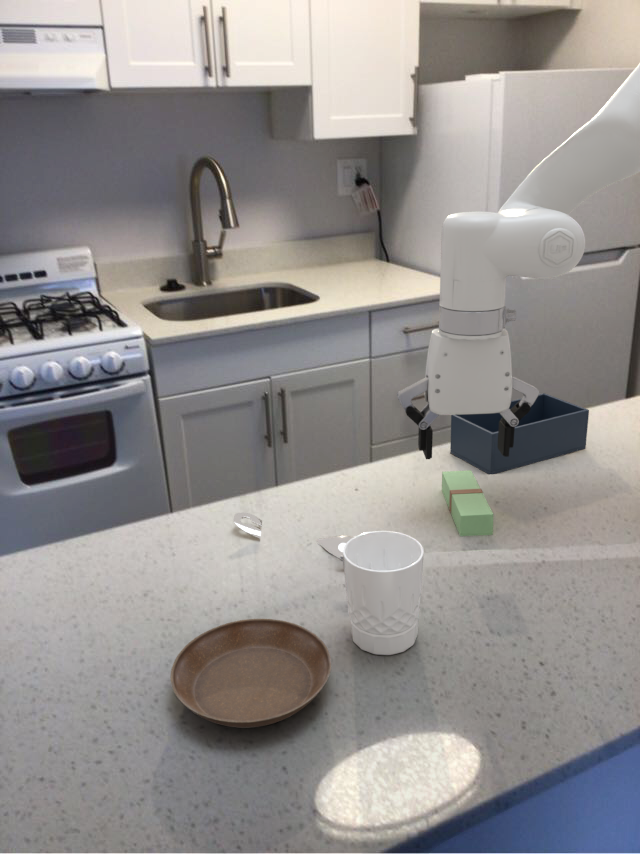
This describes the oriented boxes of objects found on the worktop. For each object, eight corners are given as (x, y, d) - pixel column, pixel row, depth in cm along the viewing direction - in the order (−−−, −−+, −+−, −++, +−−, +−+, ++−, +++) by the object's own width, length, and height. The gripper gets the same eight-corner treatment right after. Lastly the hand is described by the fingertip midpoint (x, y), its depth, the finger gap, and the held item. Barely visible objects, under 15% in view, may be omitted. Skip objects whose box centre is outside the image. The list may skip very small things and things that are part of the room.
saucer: (265, 620, 81) (263, 599, 80) (365, 687, 70) (364, 663, 69) (143, 688, 71) (139, 664, 70) (237, 775, 61) (234, 749, 60)
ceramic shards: (223, 507, 97) (246, 493, 101) (224, 531, 99) (246, 516, 102) (356, 555, 87) (376, 538, 91) (355, 581, 88) (375, 563, 92)
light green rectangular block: (470, 499, 105) (471, 469, 104) (492, 547, 93) (494, 513, 91) (441, 501, 105) (441, 471, 103) (459, 548, 93) (460, 515, 91)
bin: (541, 429, 129) (544, 392, 126) (585, 448, 120) (589, 409, 118) (450, 453, 121) (451, 414, 118) (490, 475, 112) (492, 434, 110)
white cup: (331, 643, 77) (327, 557, 73) (370, 604, 83) (368, 523, 79) (400, 669, 72) (399, 580, 69) (435, 626, 78) (437, 542, 75)
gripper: (534, 311, 93) (525, 440, 99) (394, 316, 93) (393, 445, 99) (553, 325, 86) (542, 463, 92) (402, 330, 86) (400, 468, 92)
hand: (465, 453), depth 96 cm, fingers open, 9 cm apart
